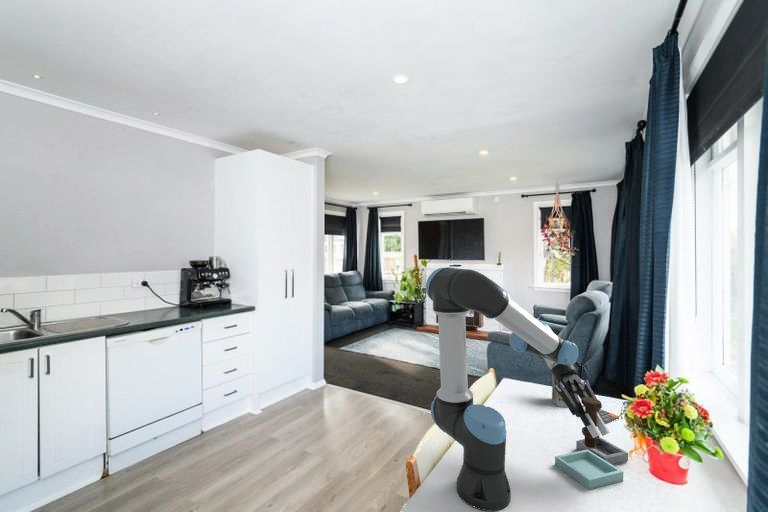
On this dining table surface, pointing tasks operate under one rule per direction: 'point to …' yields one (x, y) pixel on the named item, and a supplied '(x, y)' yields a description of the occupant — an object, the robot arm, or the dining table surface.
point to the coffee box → (557, 394)
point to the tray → (589, 469)
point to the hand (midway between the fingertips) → (601, 435)
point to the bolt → (591, 409)
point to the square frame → (615, 453)
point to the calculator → (606, 416)
